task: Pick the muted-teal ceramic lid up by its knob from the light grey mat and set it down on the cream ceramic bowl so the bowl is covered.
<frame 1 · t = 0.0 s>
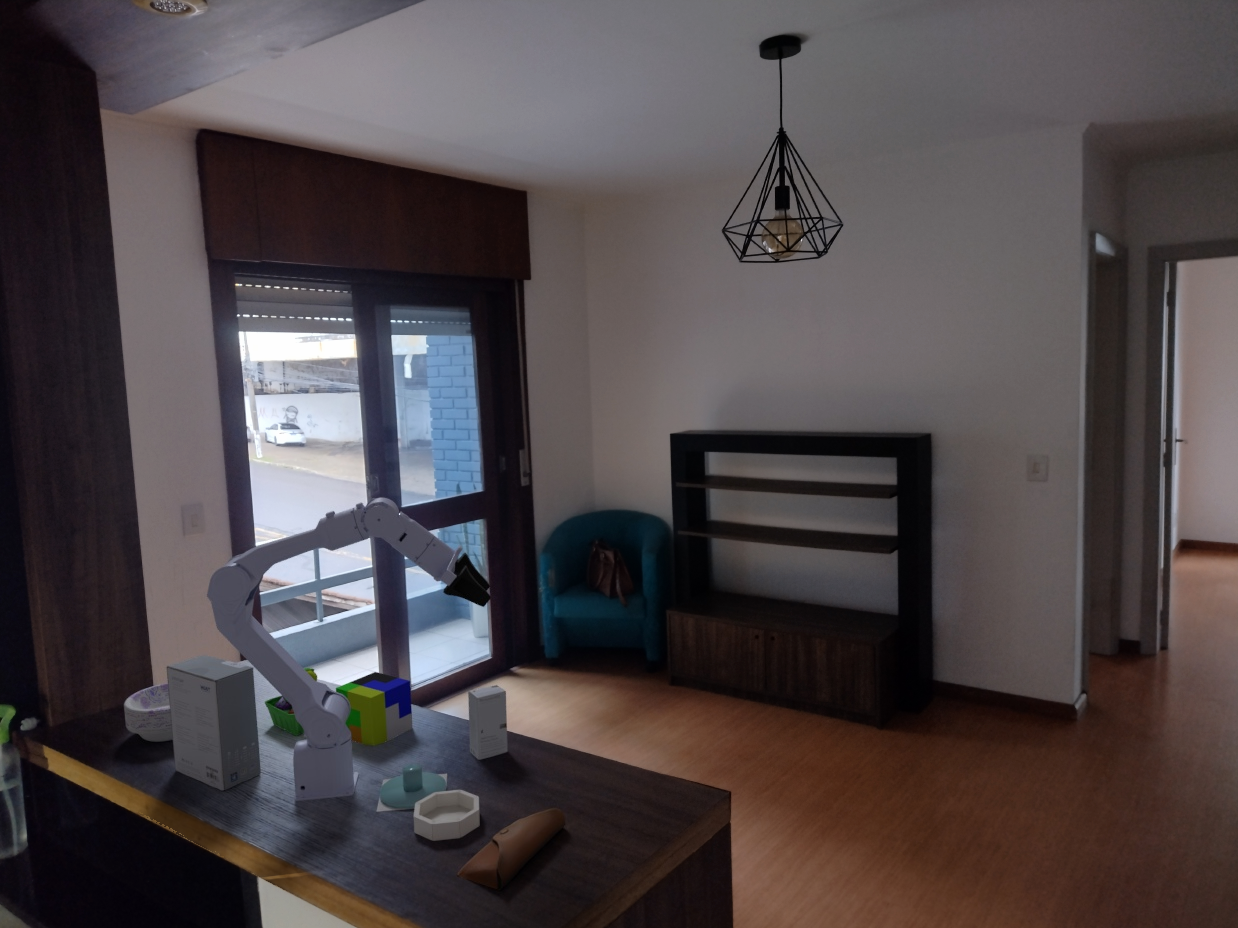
hand: (487, 595, 150), 32 cm above the kitchen counter, tool tilted 50°, fingers open, 7 cm apart
puzzle toy: (376, 733, 171), on the kitchen counter
skincare box: (489, 753, 161), on the kitchen counter
lid: (413, 791, 146), resting on mat
bowl: (447, 823, 137), on the kitchen counter
fruit basket: (298, 726, 176), on the kitchen counter
paper bowls: (170, 732, 173), on the kitchen counter
mat: (413, 793, 146), on the kitchen counter
sunglasses case: (513, 855, 129), on the kitchen counter
hard drive box: (217, 773, 155), on the kitchen counter
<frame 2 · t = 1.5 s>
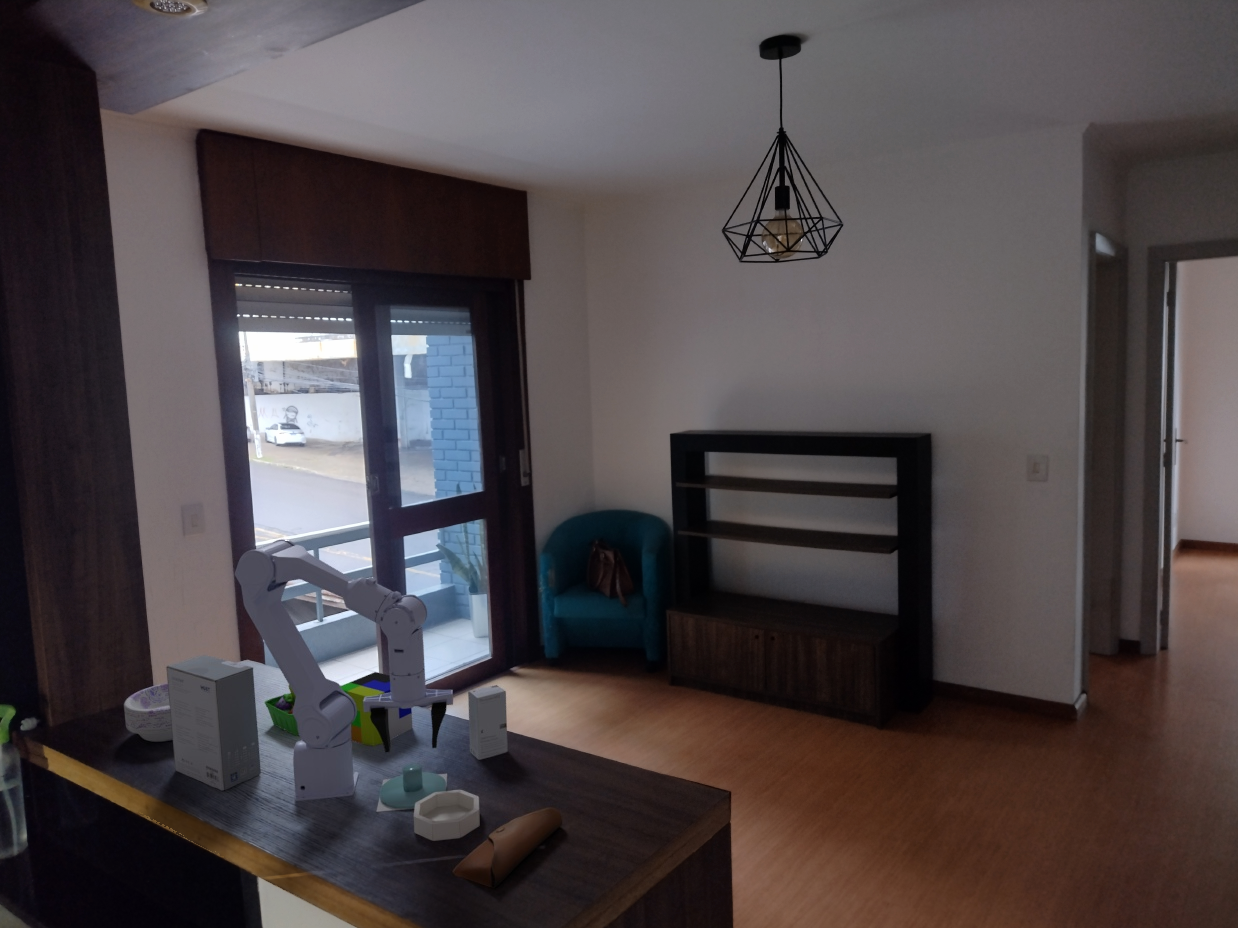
hand: (411, 747, 145), 8 cm above the kitchen counter, tool pointing down, fingers open, 7 cm apart
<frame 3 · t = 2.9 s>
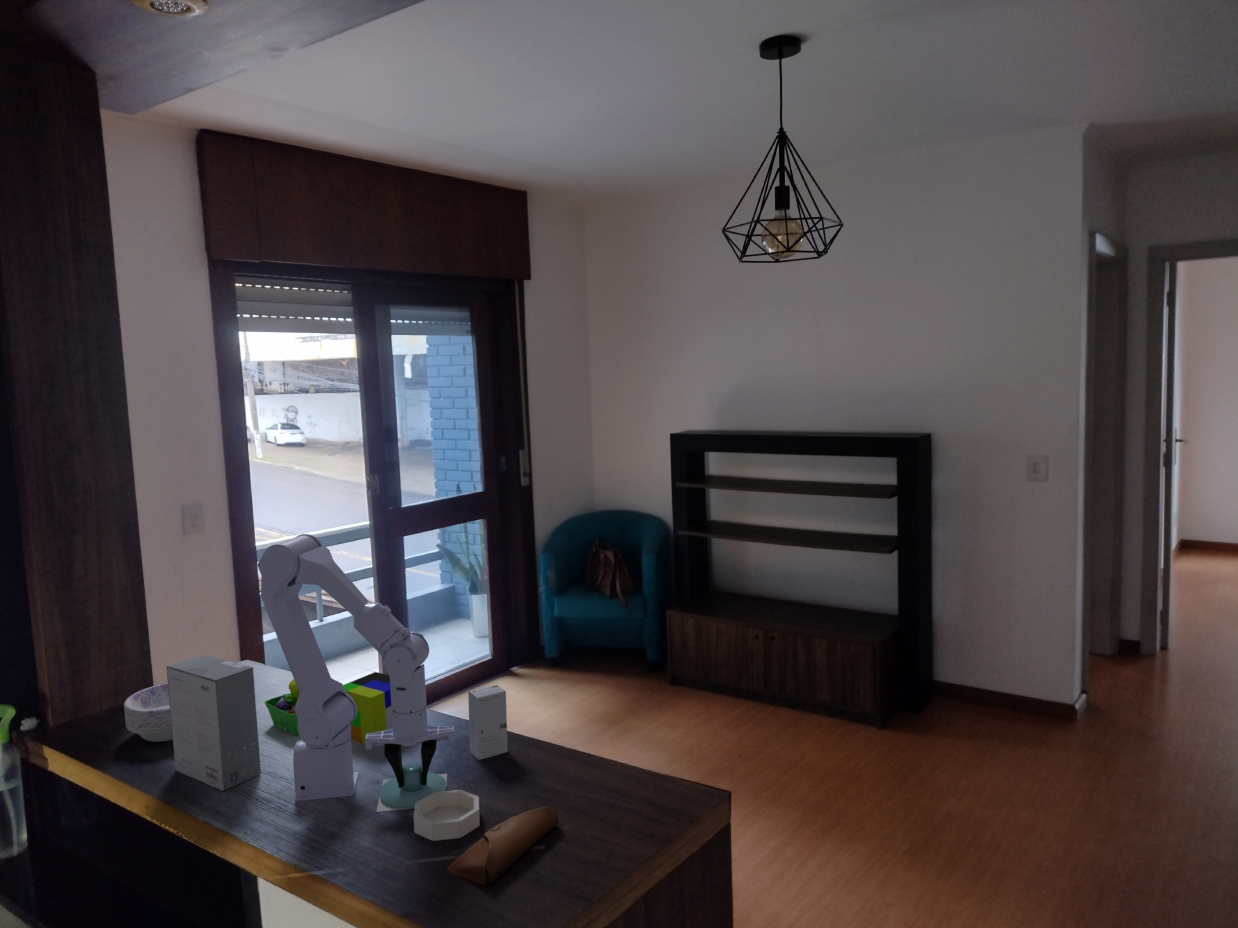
hand: (412, 783, 146), 2 cm above the kitchen counter, tool pointing down, fingers closed on lid, 3 cm apart
lid: (413, 791, 146), resting on mat, touching gripper
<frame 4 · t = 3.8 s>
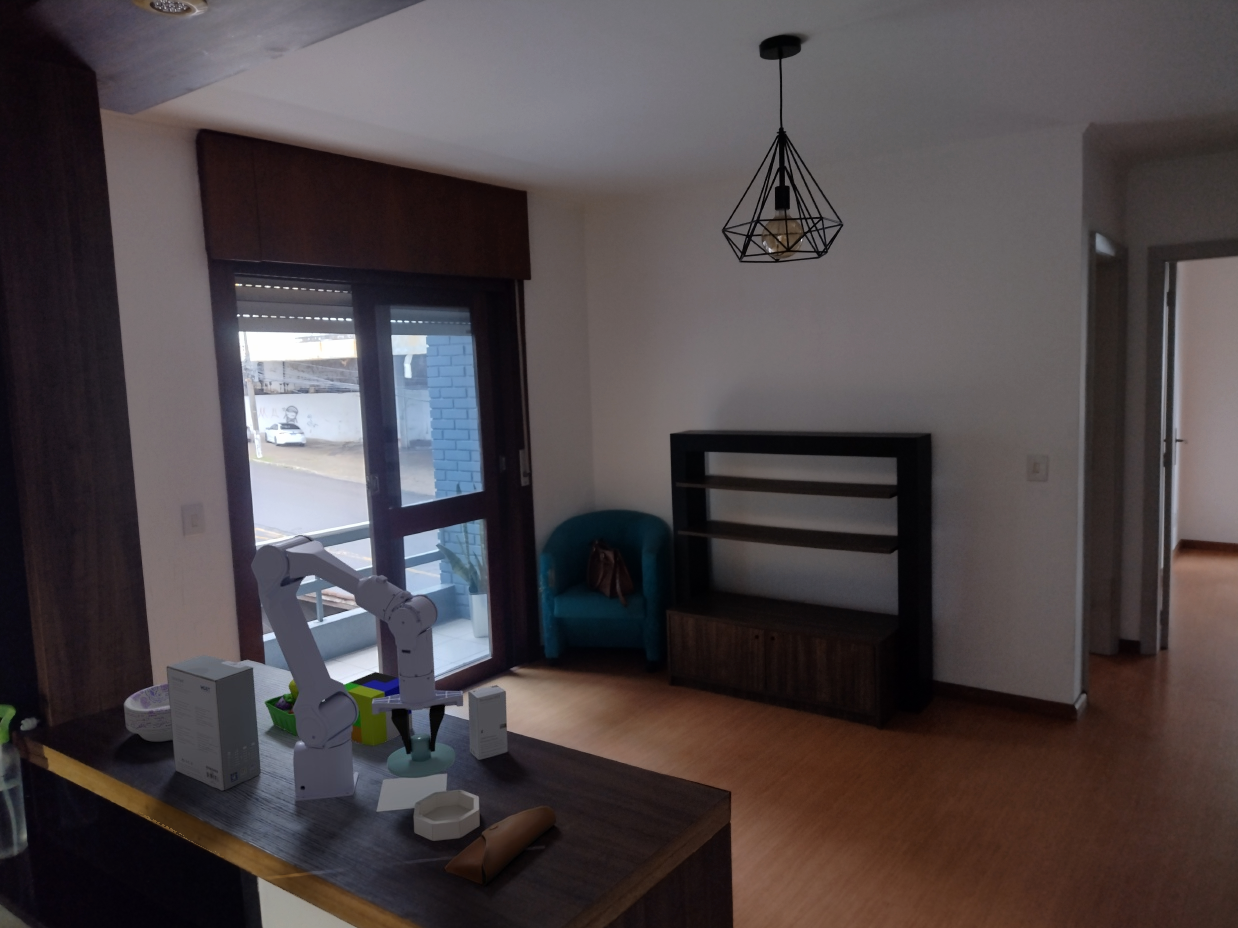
hand: (420, 750, 143), 9 cm above the kitchen counter, tool pointing down, fingers closed on lid, 3 cm apart
lid: (421, 761, 143), point 7 cm above the kitchen counter, touching gripper
when the fingers open (6 cm above the kitchen counter, at t = 5.1 s): lid stays where it is, resting on bowl.
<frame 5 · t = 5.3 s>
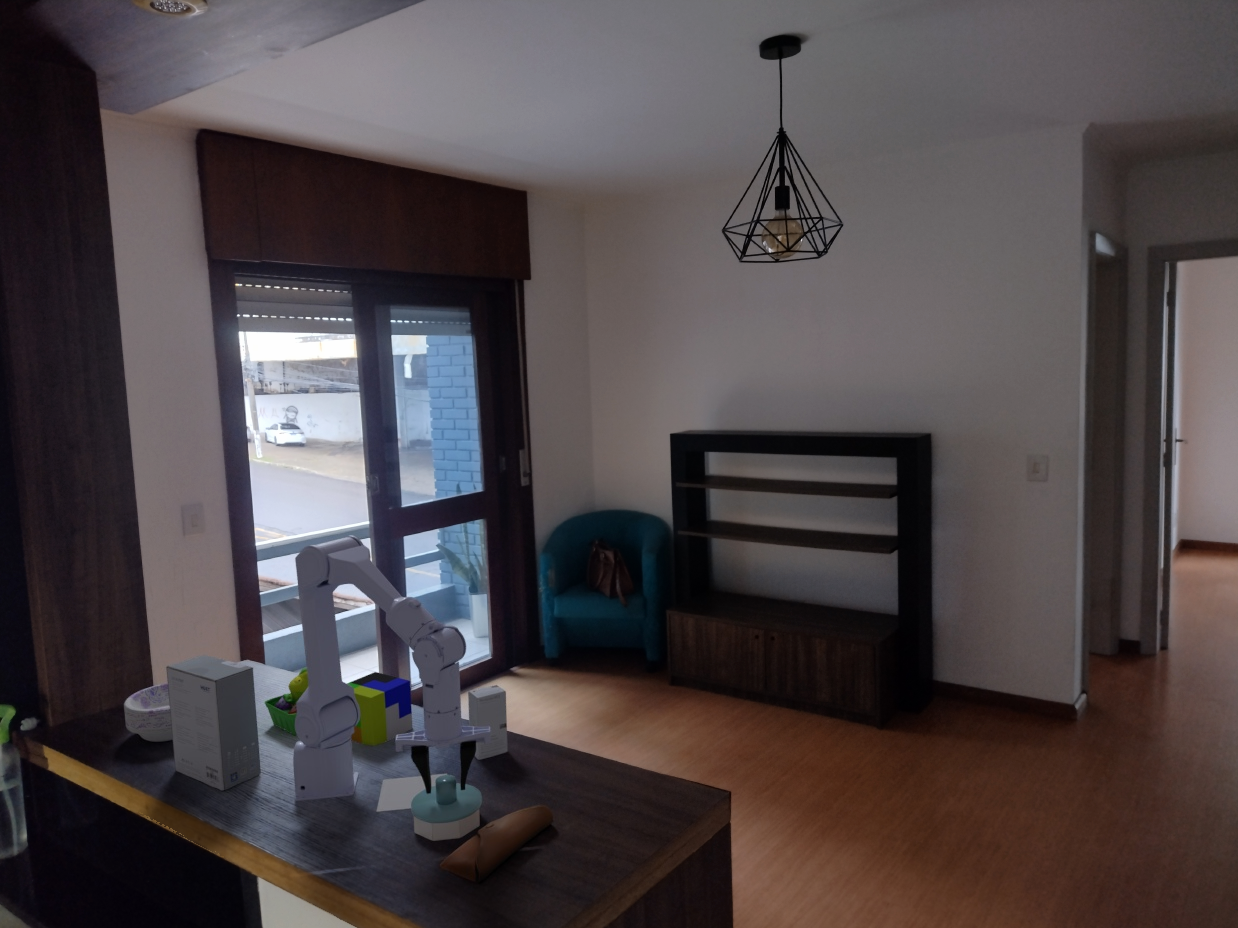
hand: (446, 788, 136), 6 cm above the kitchen counter, tool pointing down, fingers open, 5 cm apart
lid: (446, 804, 137), point 3 cm above the kitchen counter, touching bowl
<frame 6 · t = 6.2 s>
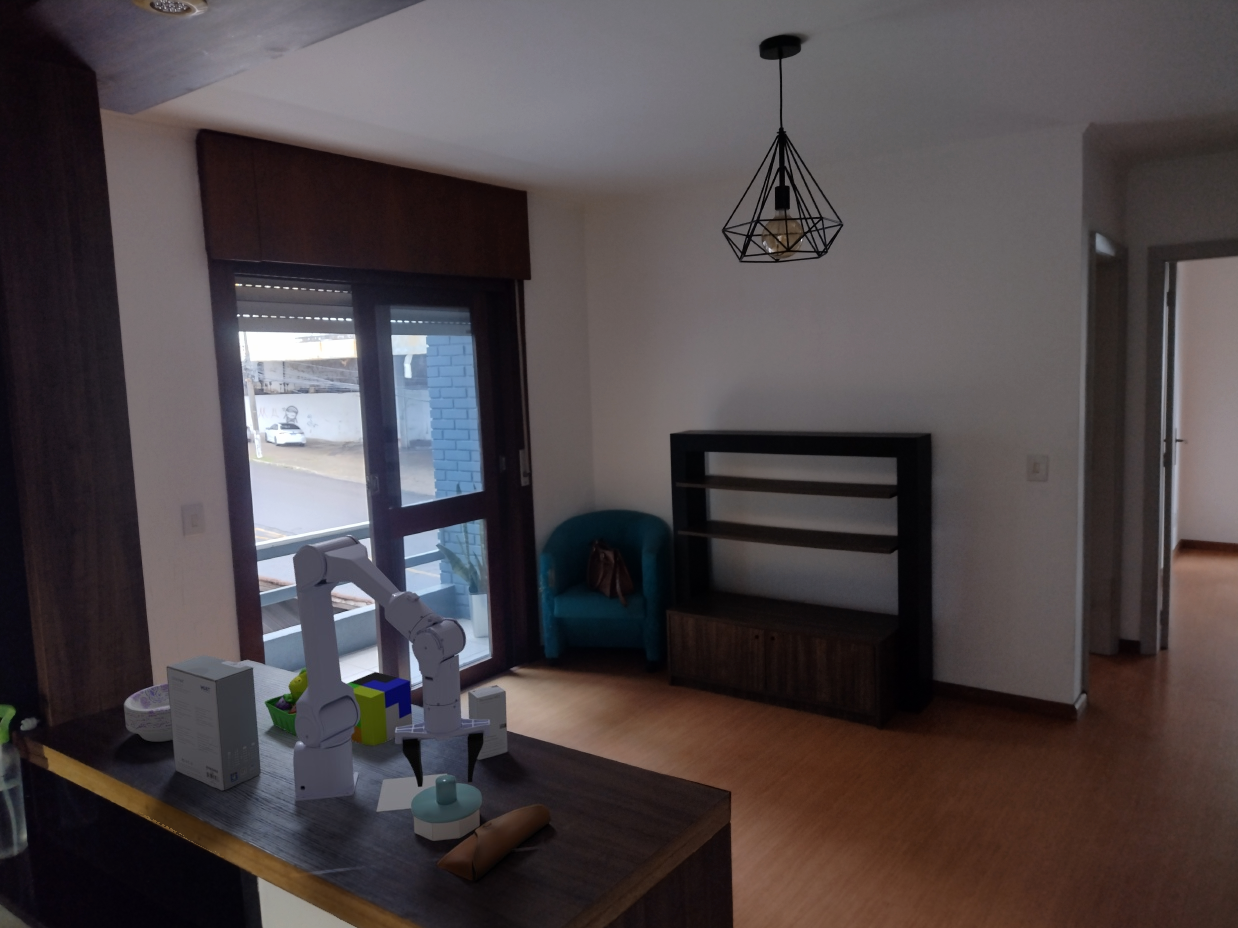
hand: (445, 781, 136), 7 cm above the kitchen counter, tool pointing down, fingers open, 7 cm apart
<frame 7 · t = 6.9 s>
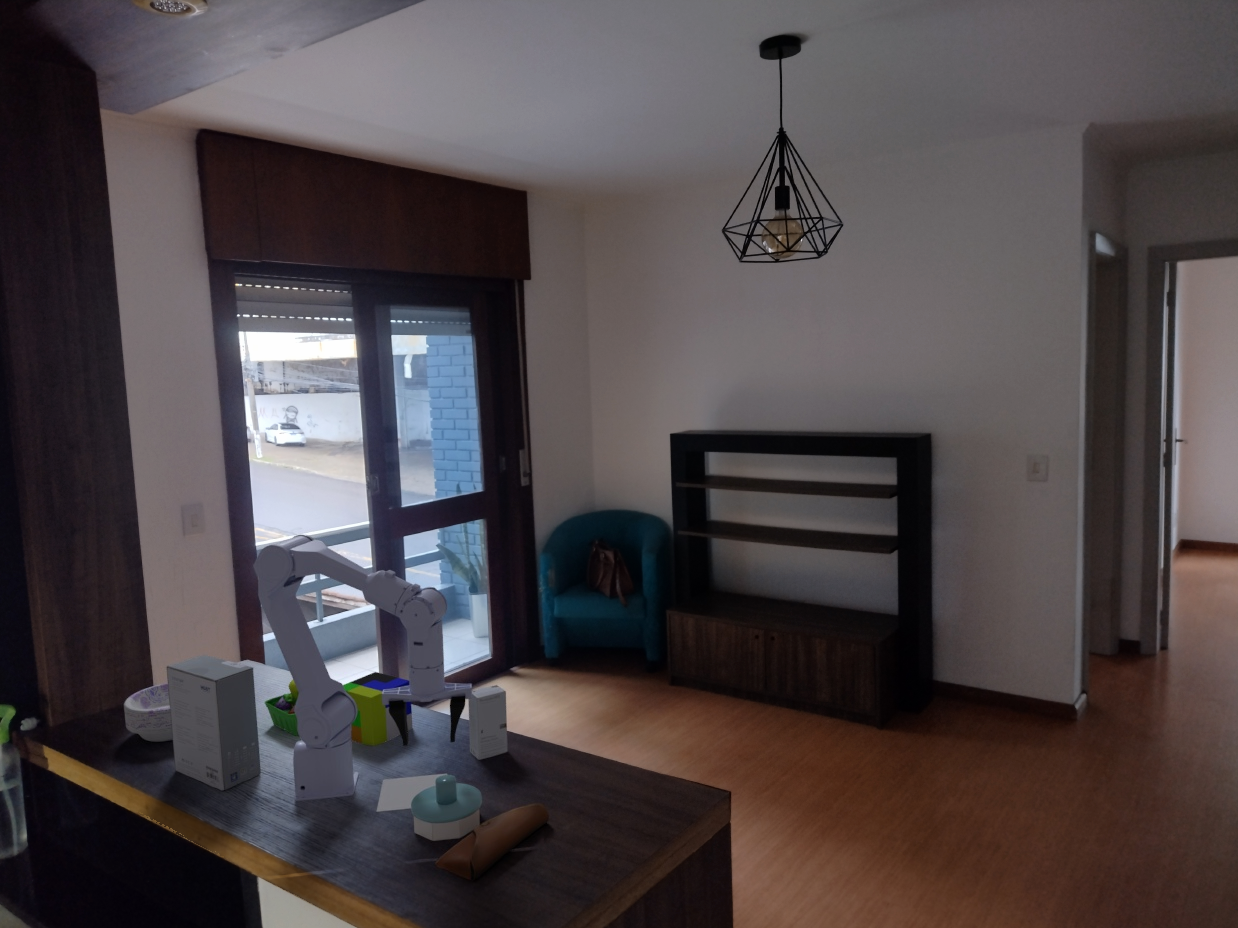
hand: (429, 741, 144), 10 cm above the kitchen counter, tool pointing down, fingers open, 7 cm apart
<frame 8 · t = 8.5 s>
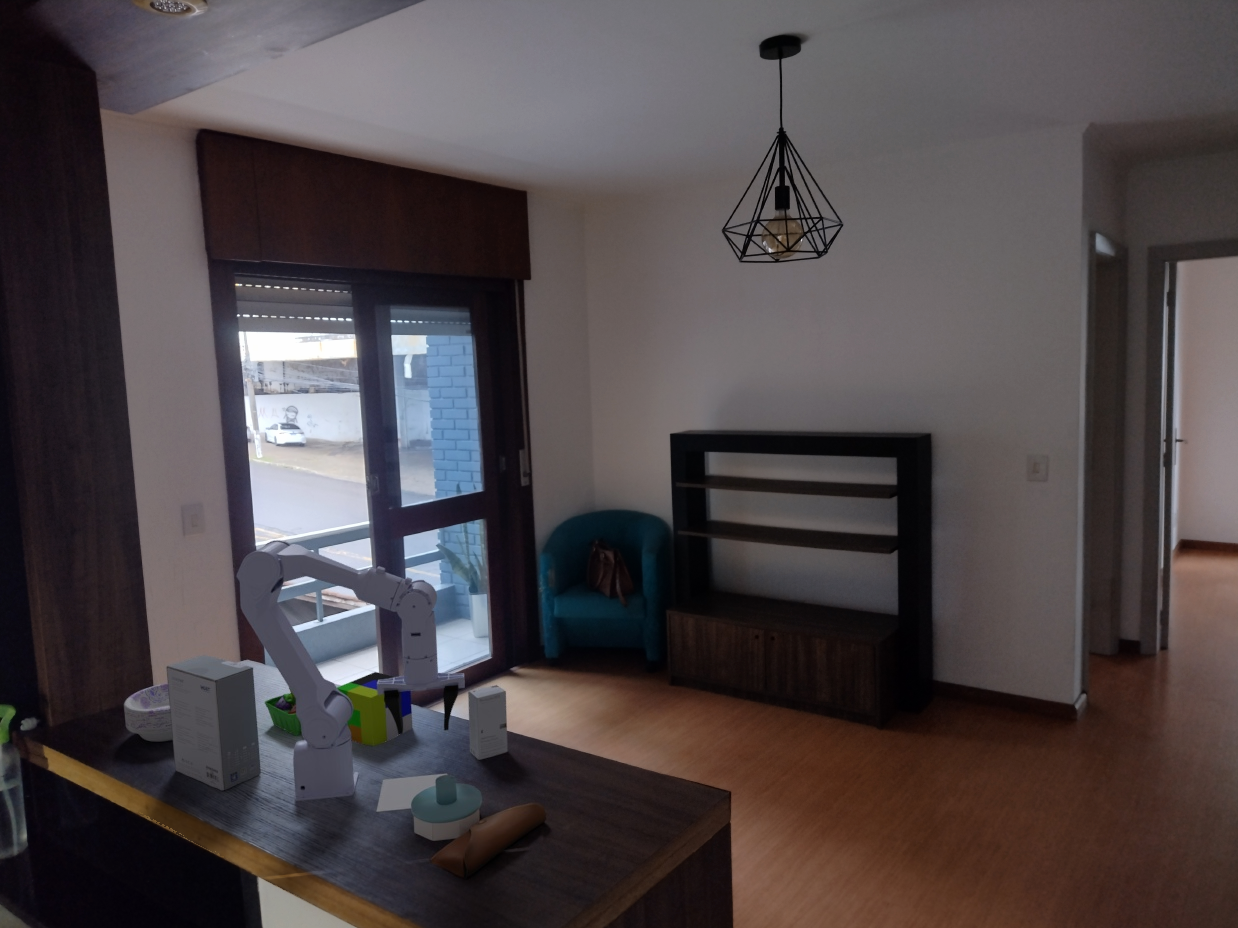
hand: (423, 729, 148), 10 cm above the kitchen counter, tool pointing down, fingers open, 7 cm apart
at the end: lid 0.5 cm off-centre on the bowl, point 3.0 cm above the bowl's base; lid tilted 0°; the gripper is holding nothing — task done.
